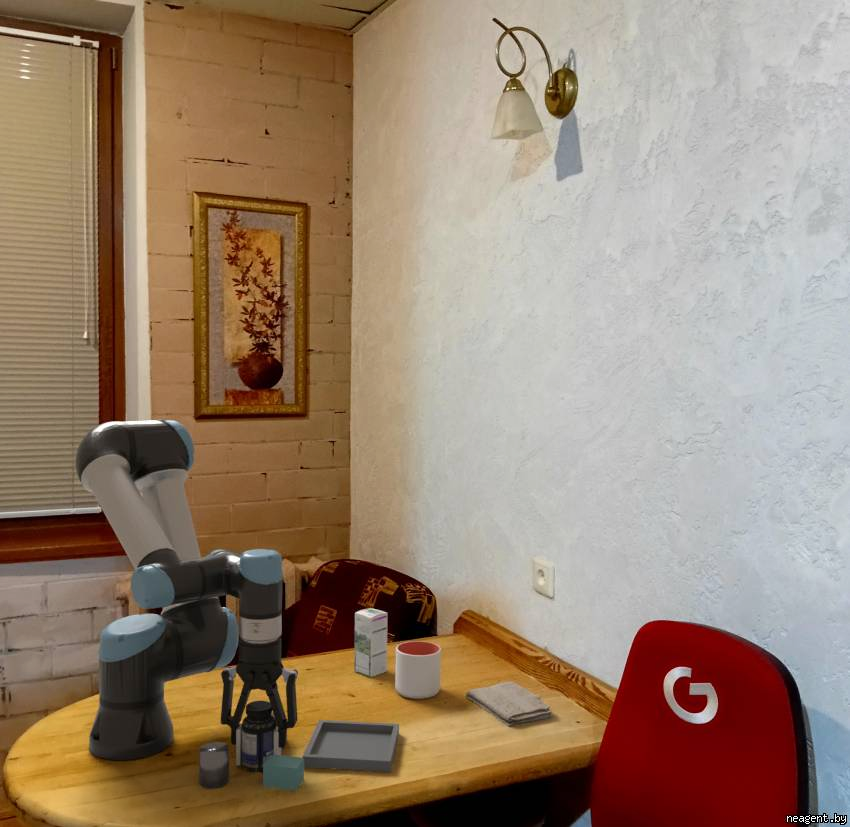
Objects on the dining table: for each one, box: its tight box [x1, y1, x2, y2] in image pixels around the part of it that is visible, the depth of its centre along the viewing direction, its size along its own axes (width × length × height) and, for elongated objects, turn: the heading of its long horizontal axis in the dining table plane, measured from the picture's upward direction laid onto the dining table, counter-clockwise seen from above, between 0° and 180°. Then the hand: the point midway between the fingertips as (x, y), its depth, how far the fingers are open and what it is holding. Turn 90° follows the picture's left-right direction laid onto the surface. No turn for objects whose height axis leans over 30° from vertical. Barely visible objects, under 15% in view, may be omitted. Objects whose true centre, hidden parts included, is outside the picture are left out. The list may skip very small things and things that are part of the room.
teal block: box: [262, 754, 305, 791], centre depth 150 cm, size 6×4×4 cm, turn 80°
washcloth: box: [465, 681, 554, 727], centre depth 185 cm, size 12×18×3 cm, turn 29°
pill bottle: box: [241, 700, 276, 772], centre depth 156 cm, size 6×6×11 cm
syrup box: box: [353, 607, 388, 678], centre depth 203 cm, size 6×6×14 cm
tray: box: [301, 719, 400, 773], centre depth 163 cm, size 16×16×2 cm
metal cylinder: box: [198, 741, 230, 790], centre depth 149 cm, size 5×5×6 cm
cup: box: [394, 640, 442, 700], centre depth 192 cm, size 10×10×10 cm
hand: (258, 762), depth 156 cm, fingers closed on pill bottle, 6 cm apart
